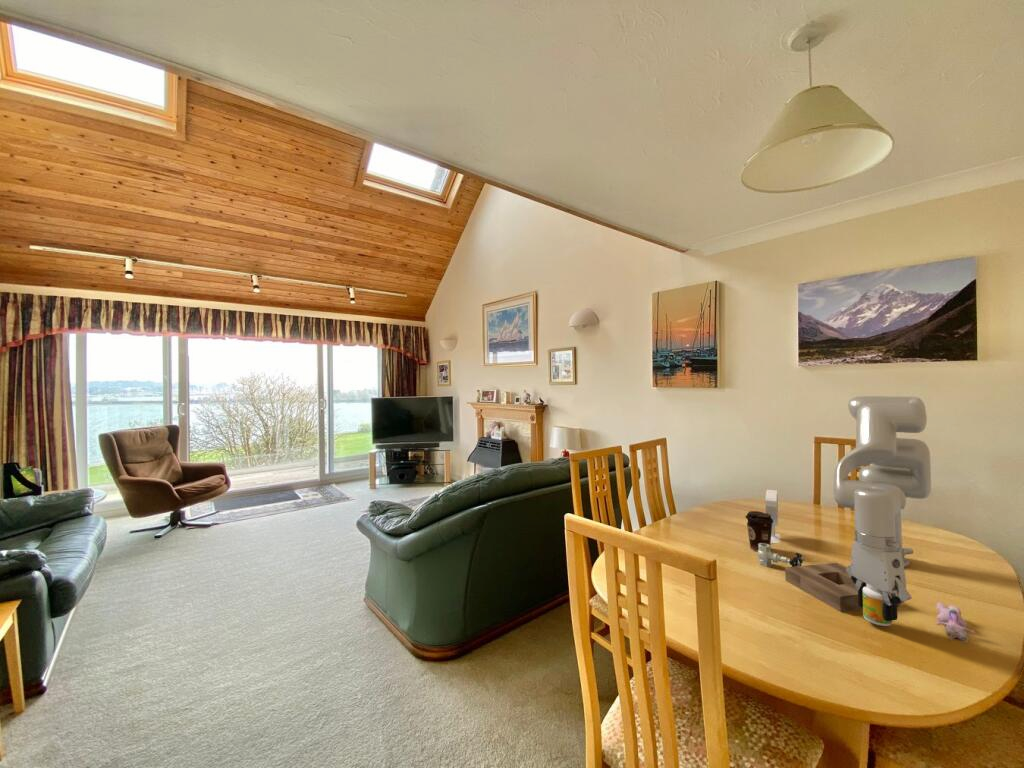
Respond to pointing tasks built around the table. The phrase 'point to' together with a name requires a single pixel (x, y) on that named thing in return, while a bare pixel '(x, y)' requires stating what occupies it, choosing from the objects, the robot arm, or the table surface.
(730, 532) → the table surface
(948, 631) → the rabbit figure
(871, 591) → the supplement bottle
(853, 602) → the socket block
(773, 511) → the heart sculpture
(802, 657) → the table surface
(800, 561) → the valve
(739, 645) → the table surface
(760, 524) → the coffee cup
